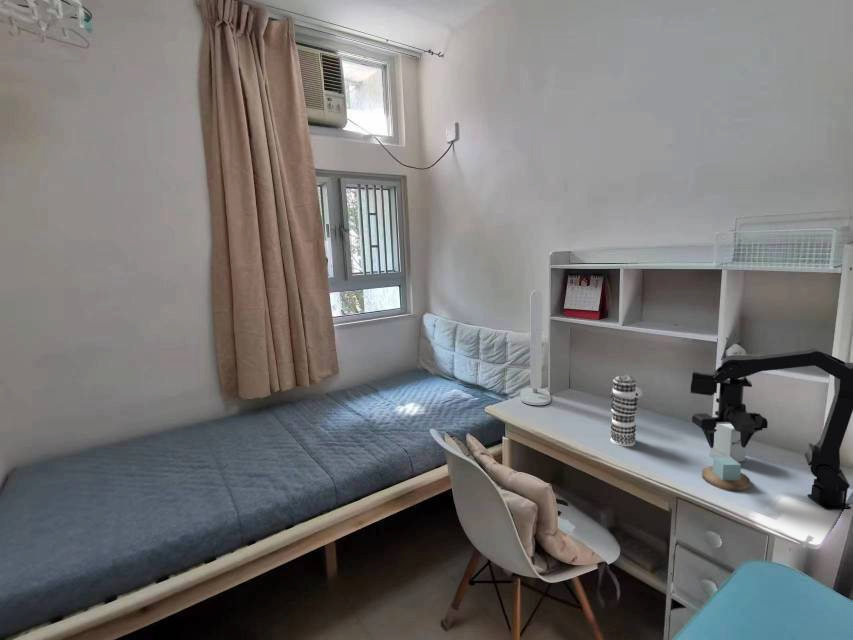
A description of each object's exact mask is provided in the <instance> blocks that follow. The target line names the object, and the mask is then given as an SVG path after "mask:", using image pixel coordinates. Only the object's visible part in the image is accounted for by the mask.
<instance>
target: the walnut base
mask: <svg viewBox="0 0 853 640" xmlns="http://www.w3.org/2000/svg"><path fill="white" fill-rule="evenodd" d="M701 476H702V479H703V480H704V481H705V482H706V483H707V484H710V485H711V486H712V487H715V488H719V489H722V490H725V491H732V492H743V491H747V490H749V489H750V487H751V480H750V478H749V477H748V476H747V475H746V474H745V473H743V472H740V480H721V479H720V478H719V477H718V476H717V475H716V474H714V473H713V465H712V466H711V465H710V466H706V467H704V468H703V469H702V474H701Z"/></svg>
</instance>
